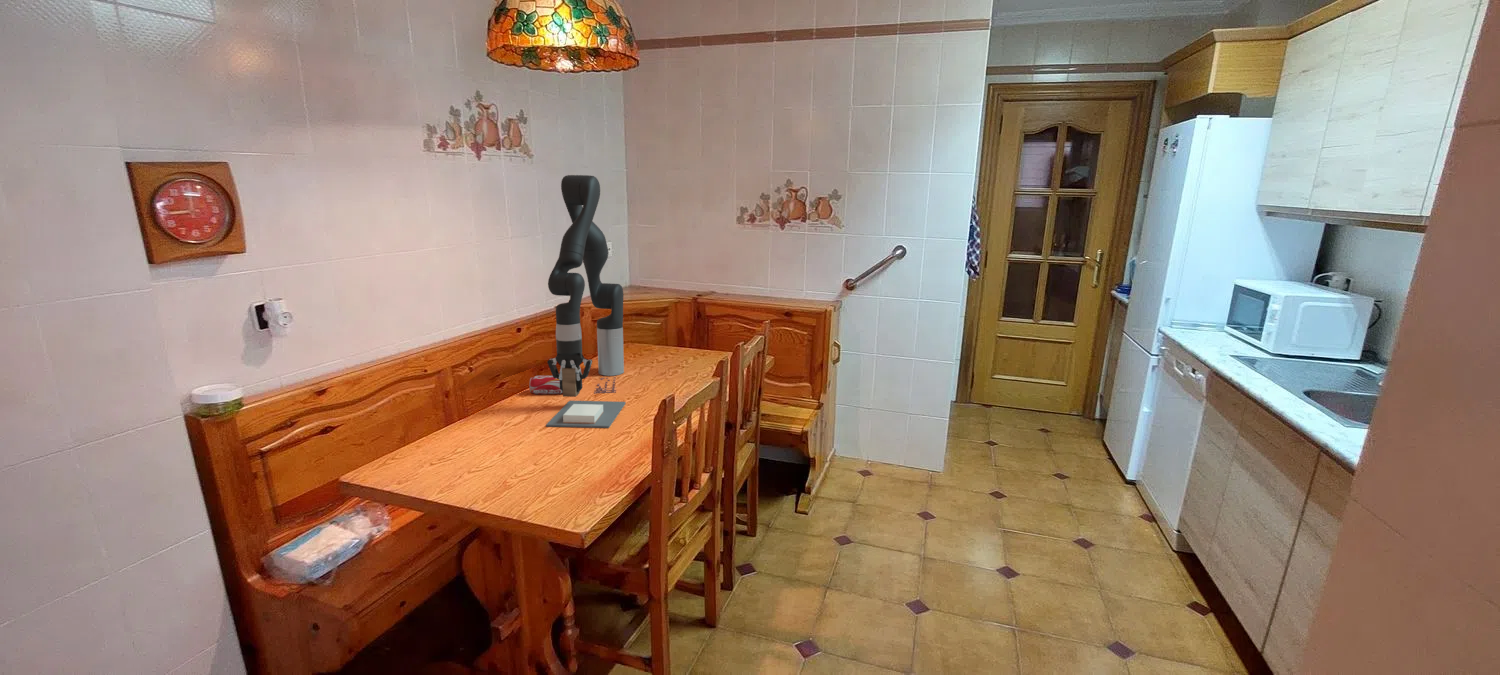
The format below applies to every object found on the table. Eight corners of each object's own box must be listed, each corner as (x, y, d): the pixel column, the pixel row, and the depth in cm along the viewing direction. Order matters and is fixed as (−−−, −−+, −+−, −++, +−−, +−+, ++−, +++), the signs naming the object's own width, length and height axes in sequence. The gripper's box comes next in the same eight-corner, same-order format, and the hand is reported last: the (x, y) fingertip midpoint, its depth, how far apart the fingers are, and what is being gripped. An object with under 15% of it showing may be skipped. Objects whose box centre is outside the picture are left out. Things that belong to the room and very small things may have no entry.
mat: (569, 402, 194) (569, 400, 194) (625, 403, 194) (625, 401, 194) (546, 426, 173) (546, 424, 173) (608, 428, 173) (608, 426, 172)
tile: (573, 404, 184) (563, 415, 174) (603, 404, 183) (594, 415, 174) (573, 411, 184) (563, 422, 174) (603, 412, 184) (594, 423, 174)
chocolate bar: (618, 380, 222) (617, 374, 222) (616, 395, 204) (615, 390, 203) (597, 380, 221) (597, 375, 220) (594, 396, 202) (593, 390, 202)
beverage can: (566, 378, 199) (528, 379, 198) (566, 396, 200) (529, 397, 199) (569, 373, 205) (533, 373, 204) (570, 390, 206) (534, 391, 205)
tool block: (567, 392, 191) (565, 365, 189) (579, 393, 191) (578, 365, 189) (563, 396, 187) (561, 368, 186) (575, 396, 187) (574, 368, 185)
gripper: (595, 335, 189) (597, 388, 193) (550, 334, 189) (552, 387, 193) (588, 340, 182) (590, 395, 185) (541, 339, 182) (544, 394, 186)
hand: (571, 390), depth 189 cm, fingers closed on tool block, 4 cm apart
